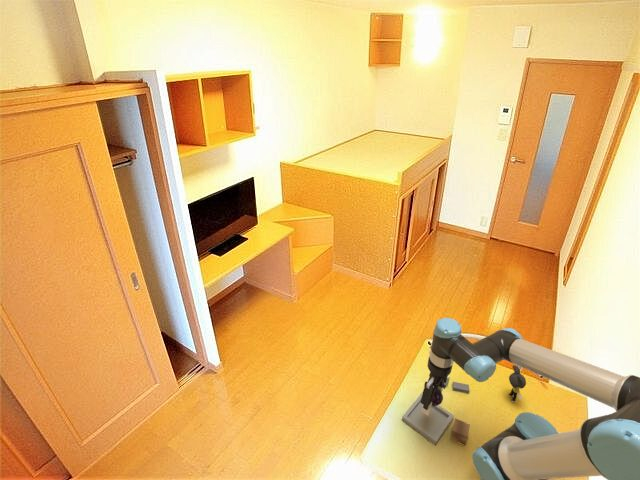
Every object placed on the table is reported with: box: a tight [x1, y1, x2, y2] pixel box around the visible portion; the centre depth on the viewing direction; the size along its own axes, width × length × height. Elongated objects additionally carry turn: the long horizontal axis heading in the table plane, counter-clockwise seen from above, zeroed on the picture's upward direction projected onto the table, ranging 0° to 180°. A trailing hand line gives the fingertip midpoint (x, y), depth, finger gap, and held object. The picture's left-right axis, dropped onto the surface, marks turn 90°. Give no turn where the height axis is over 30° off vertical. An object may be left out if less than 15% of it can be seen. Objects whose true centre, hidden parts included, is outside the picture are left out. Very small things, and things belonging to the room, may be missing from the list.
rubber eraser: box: [451, 381, 471, 395], centre depth 139 cm, size 6×3×2 cm, turn 74°
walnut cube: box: [449, 418, 471, 446], centre depth 122 cm, size 5×5×5 cm
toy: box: [508, 364, 527, 403], centre depth 132 cm, size 8×5×15 cm, turn 179°
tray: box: [401, 393, 455, 446], centre depth 128 cm, size 13×13×2 cm
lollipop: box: [421, 388, 444, 418], centre depth 124 cm, size 7×7×15 cm
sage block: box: [436, 374, 451, 387], centre depth 141 cm, size 4×4×5 cm
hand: (430, 405), depth 124 cm, fingers closed on lollipop, 7 cm apart
